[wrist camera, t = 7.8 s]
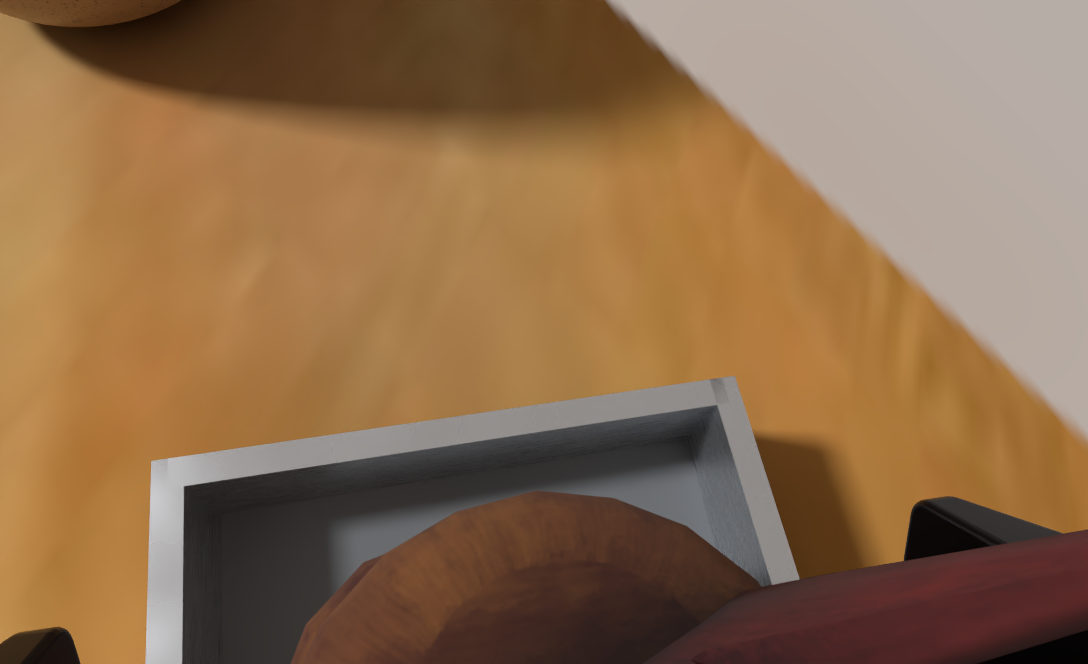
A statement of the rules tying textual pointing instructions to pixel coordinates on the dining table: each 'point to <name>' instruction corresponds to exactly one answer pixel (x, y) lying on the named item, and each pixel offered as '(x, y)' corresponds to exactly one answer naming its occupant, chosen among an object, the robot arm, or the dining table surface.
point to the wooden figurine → (678, 597)
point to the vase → (82, 11)
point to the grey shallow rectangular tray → (430, 504)
